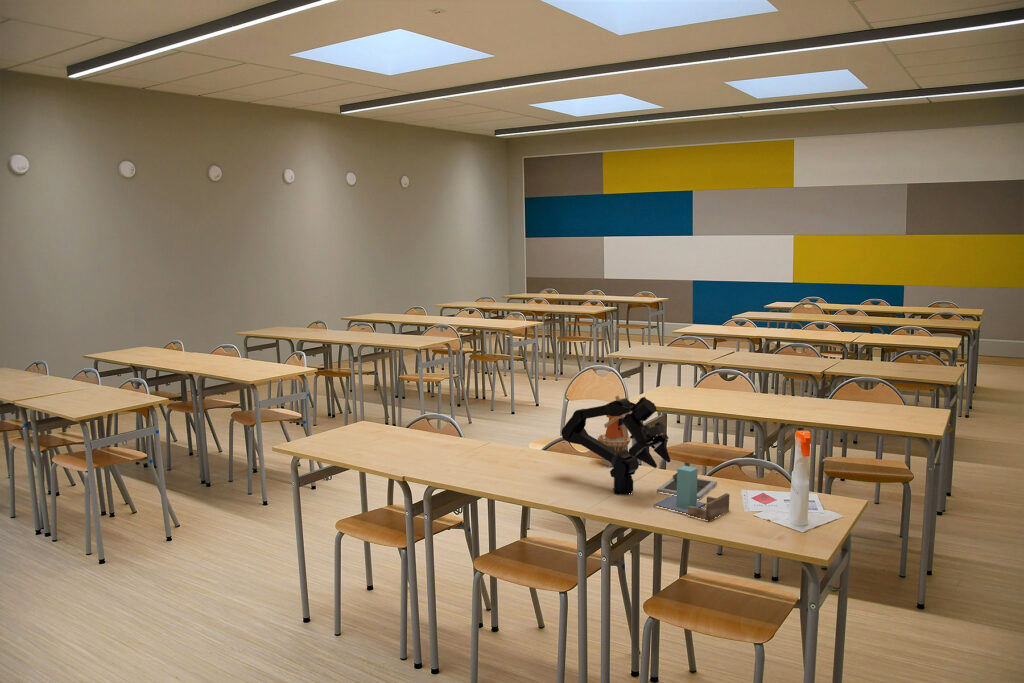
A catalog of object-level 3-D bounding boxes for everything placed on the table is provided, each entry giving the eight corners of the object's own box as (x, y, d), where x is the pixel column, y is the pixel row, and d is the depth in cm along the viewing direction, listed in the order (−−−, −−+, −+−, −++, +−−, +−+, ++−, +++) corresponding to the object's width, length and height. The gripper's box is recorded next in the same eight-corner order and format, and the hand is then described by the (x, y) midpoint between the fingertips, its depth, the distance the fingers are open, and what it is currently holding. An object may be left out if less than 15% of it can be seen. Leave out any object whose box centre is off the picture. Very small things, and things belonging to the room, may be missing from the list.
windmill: (615, 473, 308) (617, 398, 304) (585, 466, 317) (586, 394, 313) (638, 463, 321) (640, 392, 317) (608, 457, 330) (610, 388, 326)
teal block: (676, 505, 267) (677, 468, 266) (683, 501, 271) (684, 465, 269) (689, 508, 264) (690, 471, 262) (696, 505, 268) (697, 468, 266)
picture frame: (676, 479, 301) (656, 494, 284) (677, 472, 301) (657, 486, 283) (716, 486, 293) (698, 502, 276) (717, 479, 293) (699, 494, 275)
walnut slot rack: (687, 516, 259) (688, 499, 258) (708, 505, 270) (708, 489, 269) (709, 522, 254) (709, 504, 253) (728, 511, 265) (729, 494, 264)
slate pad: (653, 507, 268) (653, 504, 268) (672, 497, 278) (672, 495, 278) (687, 515, 260) (687, 512, 260) (705, 506, 270) (705, 503, 269)
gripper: (636, 419, 266) (664, 457, 261) (664, 411, 280) (691, 446, 274) (617, 438, 272) (643, 475, 267) (645, 429, 286) (670, 463, 281)
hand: (663, 464), depth 272 cm, fingers open, 9 cm apart
